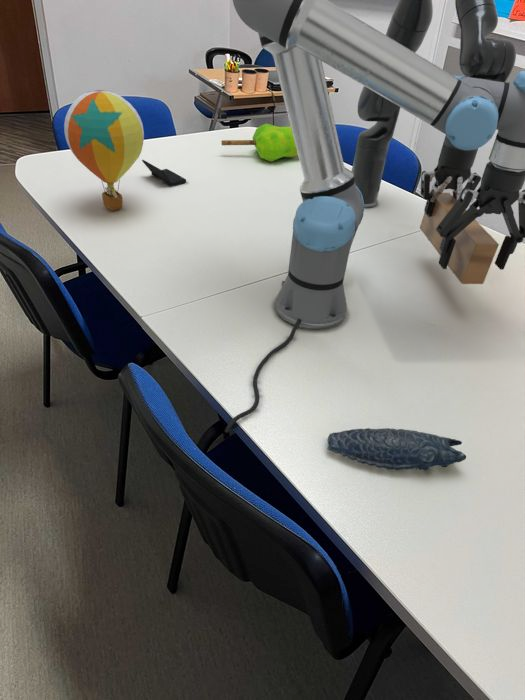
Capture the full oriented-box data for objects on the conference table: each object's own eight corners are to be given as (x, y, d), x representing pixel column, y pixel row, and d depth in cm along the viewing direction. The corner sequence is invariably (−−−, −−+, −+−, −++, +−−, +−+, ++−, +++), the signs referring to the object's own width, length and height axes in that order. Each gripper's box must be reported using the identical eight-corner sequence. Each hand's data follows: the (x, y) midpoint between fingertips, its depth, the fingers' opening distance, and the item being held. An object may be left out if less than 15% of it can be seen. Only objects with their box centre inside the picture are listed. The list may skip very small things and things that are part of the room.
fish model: (464, 484, 79) (474, 462, 76) (325, 466, 80) (330, 444, 77) (456, 450, 84) (465, 429, 81) (326, 434, 85) (331, 412, 82)
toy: (64, 203, 145) (44, 85, 127) (127, 189, 156) (117, 79, 137) (97, 229, 134) (80, 105, 116) (162, 213, 145) (156, 96, 126)
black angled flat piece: (190, 175, 164) (173, 153, 156) (179, 193, 163) (161, 172, 155) (166, 170, 170) (147, 148, 162) (155, 188, 169) (136, 167, 161)
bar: (483, 284, 110) (499, 244, 105) (461, 284, 110) (476, 244, 104) (438, 228, 130) (449, 192, 125) (419, 228, 130) (430, 192, 124)
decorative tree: (218, 120, 186) (299, 120, 191) (218, 150, 192) (297, 149, 197) (225, 135, 172) (312, 134, 177) (225, 166, 178) (309, 165, 184)
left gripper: (556, 160, 102) (515, 258, 115) (439, 155, 98) (410, 256, 112) (579, 174, 96) (532, 275, 109) (454, 170, 93) (422, 274, 106)
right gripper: (484, 139, 118) (460, 209, 129) (424, 136, 116) (405, 208, 127) (499, 150, 112) (473, 223, 123) (436, 147, 110) (415, 222, 121)
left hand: (470, 266), depth 111 cm, fingers open, 12 cm apart
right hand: (439, 215), depth 125 cm, fingers closed on bar, 5 cm apart
